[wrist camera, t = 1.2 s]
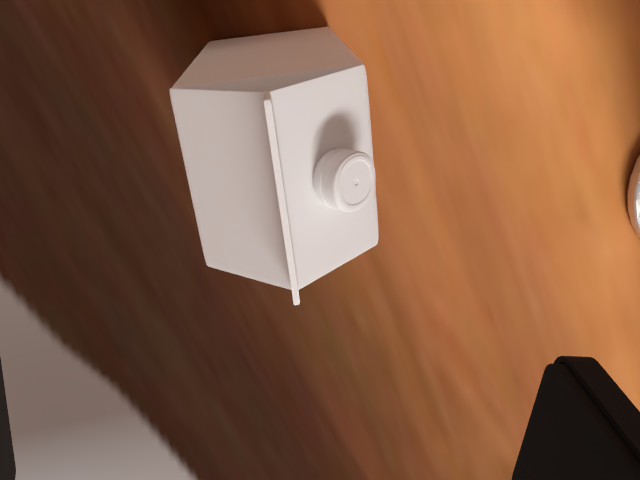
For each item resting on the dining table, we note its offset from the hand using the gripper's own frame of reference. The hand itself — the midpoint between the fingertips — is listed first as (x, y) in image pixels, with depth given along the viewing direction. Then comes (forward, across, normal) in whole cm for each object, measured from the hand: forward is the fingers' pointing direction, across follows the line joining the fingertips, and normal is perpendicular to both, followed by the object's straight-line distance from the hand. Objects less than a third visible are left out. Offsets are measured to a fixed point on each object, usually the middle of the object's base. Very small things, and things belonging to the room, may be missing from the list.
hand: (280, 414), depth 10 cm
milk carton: (+29, 0, 0) cm, 29 cm away
